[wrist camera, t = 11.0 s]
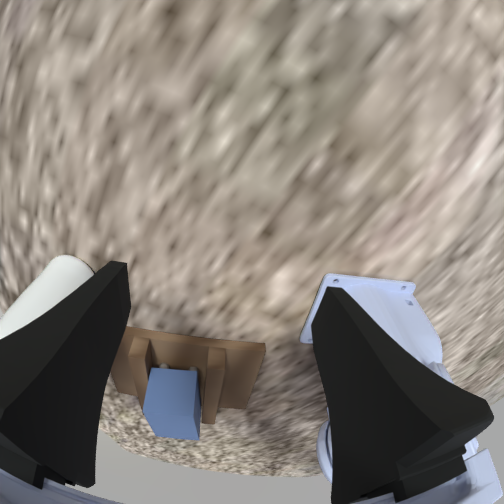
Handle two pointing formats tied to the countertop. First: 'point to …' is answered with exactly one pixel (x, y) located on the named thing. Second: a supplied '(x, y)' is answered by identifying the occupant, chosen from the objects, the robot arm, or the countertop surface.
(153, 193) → the countertop surface
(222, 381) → the shelf frame
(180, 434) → the shelf block
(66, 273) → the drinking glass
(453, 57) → the countertop surface
